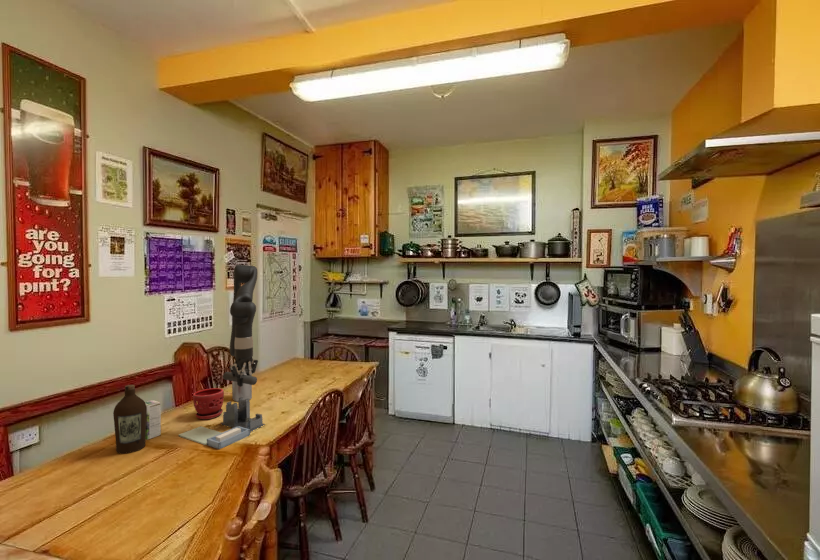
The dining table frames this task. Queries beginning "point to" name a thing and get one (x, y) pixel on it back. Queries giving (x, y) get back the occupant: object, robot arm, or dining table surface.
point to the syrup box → (153, 419)
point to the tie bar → (228, 434)
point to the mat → (199, 434)
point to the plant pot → (208, 403)
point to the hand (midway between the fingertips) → (244, 384)
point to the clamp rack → (241, 416)
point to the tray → (228, 441)
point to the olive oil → (130, 422)
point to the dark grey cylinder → (246, 378)
